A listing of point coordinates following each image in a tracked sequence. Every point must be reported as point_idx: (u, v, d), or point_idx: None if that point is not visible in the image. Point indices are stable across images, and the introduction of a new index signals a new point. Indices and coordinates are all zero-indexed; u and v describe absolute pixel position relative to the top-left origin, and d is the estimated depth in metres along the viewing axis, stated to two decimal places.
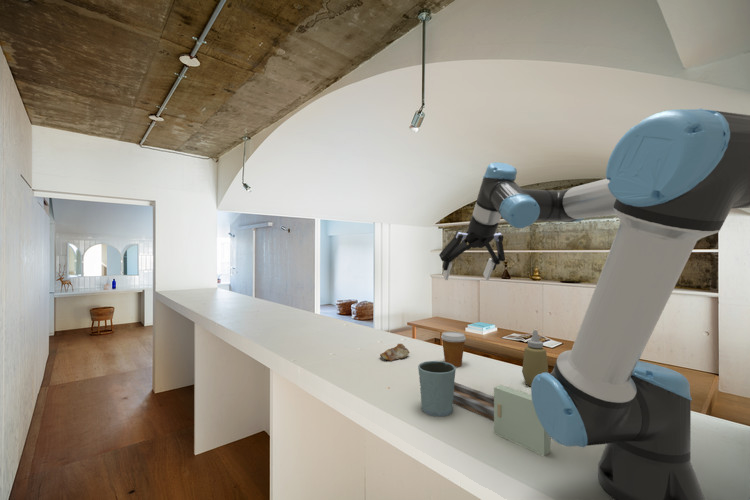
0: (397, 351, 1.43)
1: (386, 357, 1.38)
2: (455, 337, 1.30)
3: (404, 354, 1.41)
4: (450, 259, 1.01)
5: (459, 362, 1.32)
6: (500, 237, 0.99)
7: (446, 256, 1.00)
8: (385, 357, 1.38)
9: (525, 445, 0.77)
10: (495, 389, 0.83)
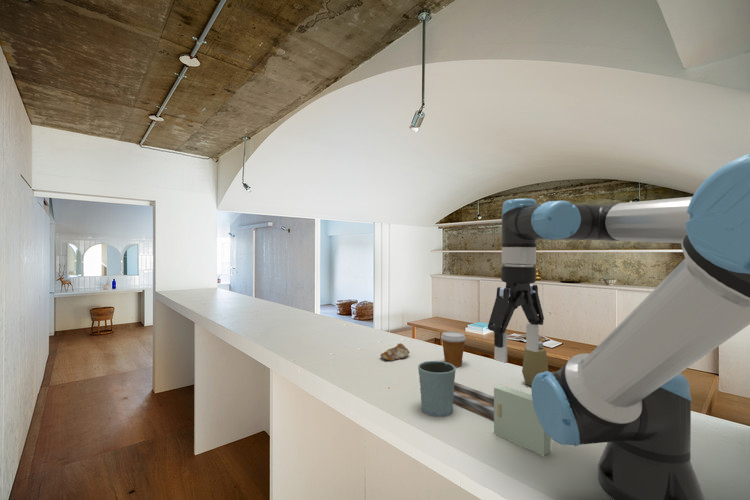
0: (397, 351, 1.43)
1: (387, 357, 1.38)
2: (455, 337, 1.30)
3: (404, 354, 1.42)
4: (504, 327, 0.75)
5: (459, 362, 1.32)
6: (535, 287, 0.83)
7: (500, 323, 0.74)
8: (386, 357, 1.37)
9: (525, 445, 0.77)
10: (495, 389, 0.83)
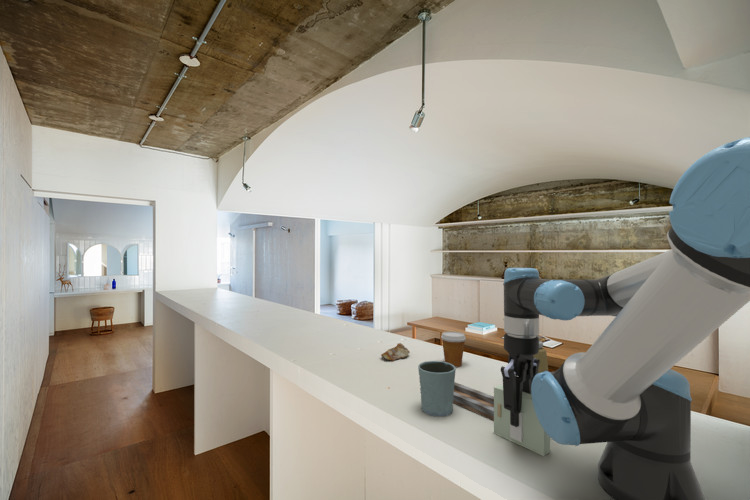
0: (398, 351, 1.43)
1: (388, 357, 1.38)
2: (455, 337, 1.30)
3: (405, 354, 1.42)
4: (519, 407, 0.76)
5: (459, 362, 1.32)
6: (537, 361, 0.82)
7: (515, 403, 0.75)
8: (387, 357, 1.37)
9: (525, 445, 0.77)
10: (495, 389, 0.83)
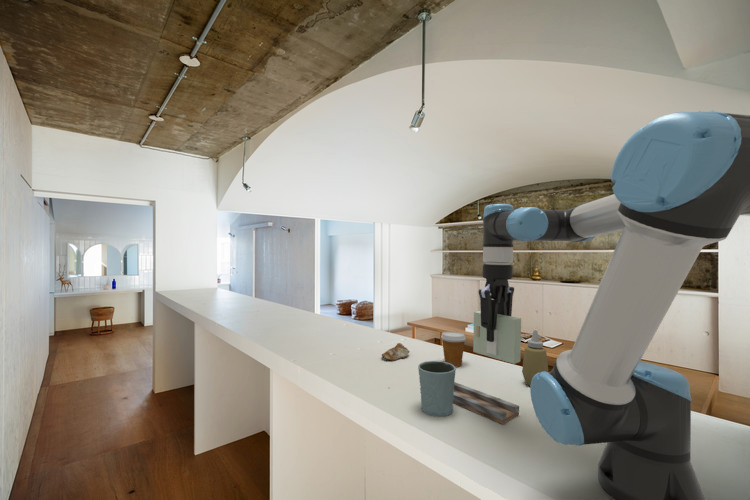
0: (398, 350, 1.43)
1: (389, 357, 1.38)
2: (455, 337, 1.30)
3: (405, 353, 1.42)
4: (494, 324, 0.88)
5: (459, 362, 1.32)
6: (512, 288, 0.93)
7: (490, 320, 0.87)
8: (388, 357, 1.38)
9: (499, 357, 0.88)
10: (475, 313, 0.94)
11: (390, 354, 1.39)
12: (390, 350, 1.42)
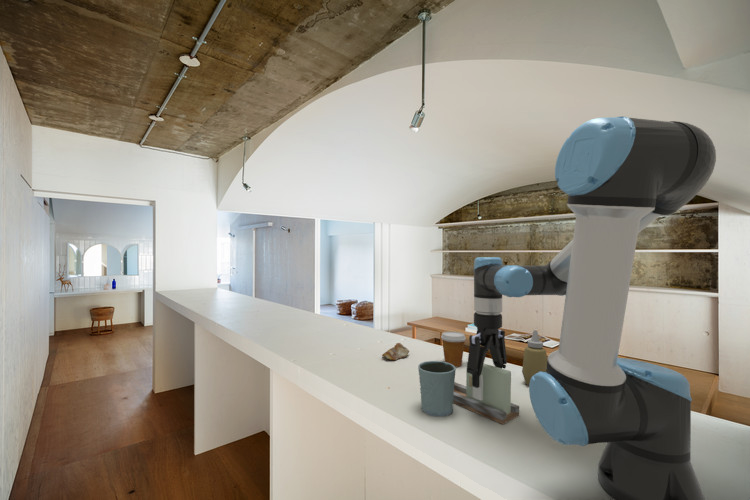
0: (398, 350, 1.44)
1: (390, 357, 1.38)
2: (455, 337, 1.30)
3: (405, 353, 1.43)
4: (480, 370, 0.91)
5: (459, 362, 1.32)
6: (503, 332, 0.98)
7: (476, 367, 0.90)
8: (389, 357, 1.38)
9: None
10: (467, 363, 0.99)
11: (391, 354, 1.39)
12: (390, 350, 1.42)
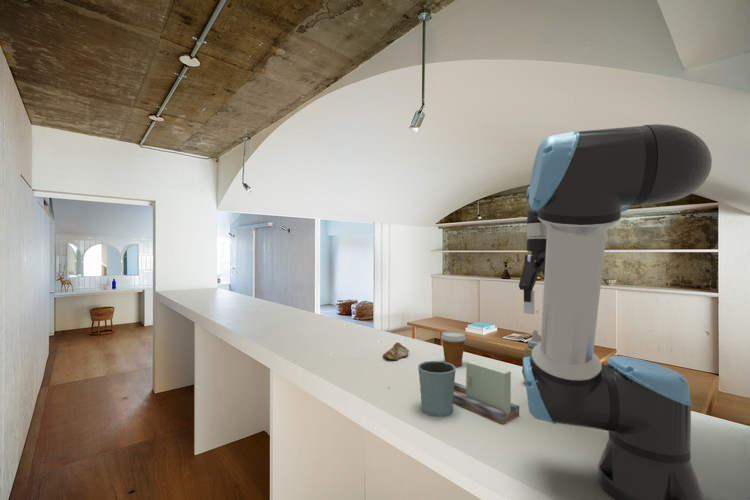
0: (399, 350, 1.44)
1: (392, 357, 1.38)
2: (455, 337, 1.30)
3: (406, 352, 1.44)
4: (532, 285, 0.94)
5: (459, 362, 1.32)
6: None
7: (529, 282, 0.93)
8: (391, 357, 1.38)
9: None
10: (467, 363, 0.99)
11: (392, 354, 1.40)
12: (391, 350, 1.42)
